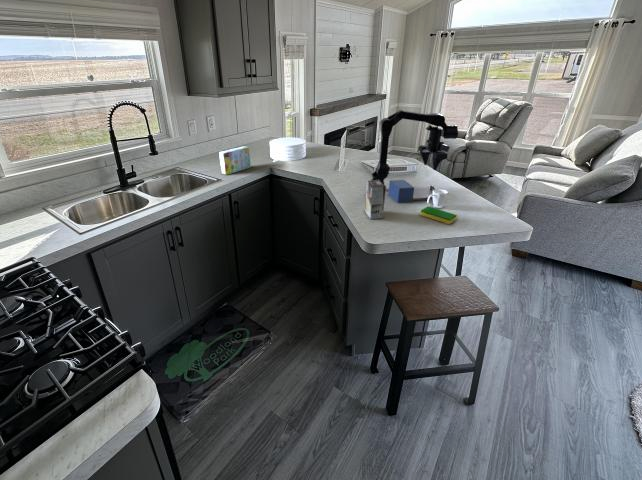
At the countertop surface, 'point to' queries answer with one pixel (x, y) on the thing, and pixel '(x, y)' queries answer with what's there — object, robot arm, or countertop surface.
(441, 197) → the cup
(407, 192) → the navy box
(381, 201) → the coffee box
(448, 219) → the dish sponge
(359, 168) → the countertop surface
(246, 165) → the snack box
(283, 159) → the plate stack
